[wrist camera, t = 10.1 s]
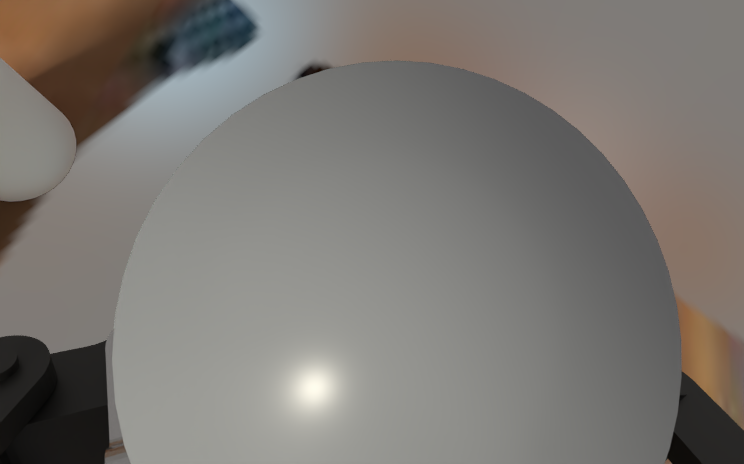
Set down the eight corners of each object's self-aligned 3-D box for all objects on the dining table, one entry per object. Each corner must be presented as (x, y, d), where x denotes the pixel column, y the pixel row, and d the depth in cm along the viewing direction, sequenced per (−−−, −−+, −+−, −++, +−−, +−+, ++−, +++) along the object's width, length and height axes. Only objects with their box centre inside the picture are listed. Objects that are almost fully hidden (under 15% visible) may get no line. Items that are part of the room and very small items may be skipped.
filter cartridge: (242, 394, 17) (64, 681, 4) (255, 243, 18) (154, 26, 5) (392, 397, 18) (701, 642, 4) (397, 253, 19) (664, 92, 5)
